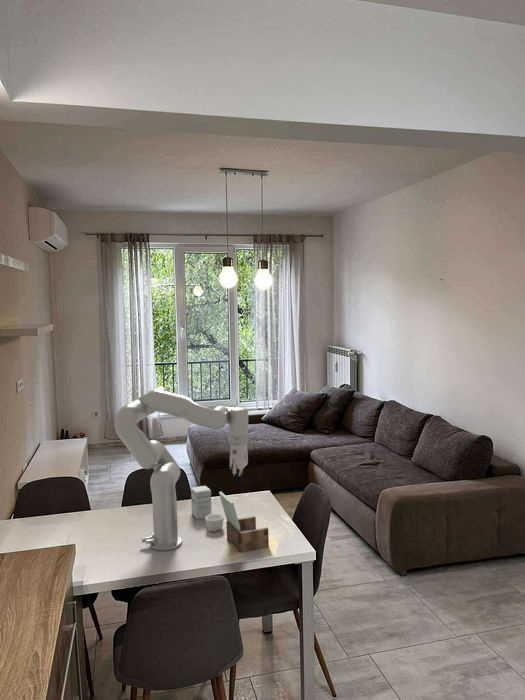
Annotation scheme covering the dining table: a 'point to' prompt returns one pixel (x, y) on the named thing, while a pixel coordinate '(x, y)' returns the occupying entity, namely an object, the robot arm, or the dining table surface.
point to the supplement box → (201, 502)
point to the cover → (230, 511)
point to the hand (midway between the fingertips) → (237, 484)
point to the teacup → (214, 522)
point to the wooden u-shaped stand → (247, 535)
